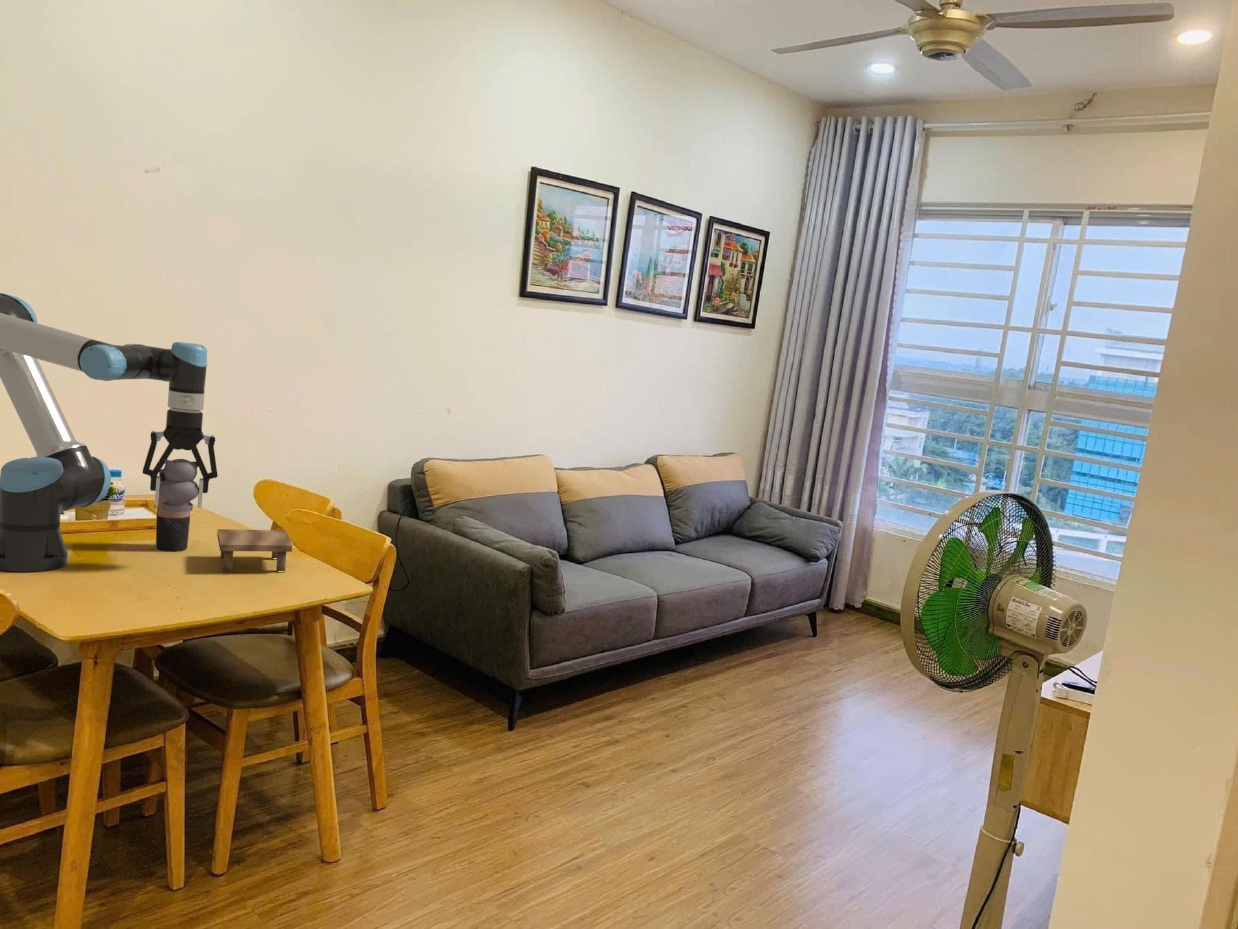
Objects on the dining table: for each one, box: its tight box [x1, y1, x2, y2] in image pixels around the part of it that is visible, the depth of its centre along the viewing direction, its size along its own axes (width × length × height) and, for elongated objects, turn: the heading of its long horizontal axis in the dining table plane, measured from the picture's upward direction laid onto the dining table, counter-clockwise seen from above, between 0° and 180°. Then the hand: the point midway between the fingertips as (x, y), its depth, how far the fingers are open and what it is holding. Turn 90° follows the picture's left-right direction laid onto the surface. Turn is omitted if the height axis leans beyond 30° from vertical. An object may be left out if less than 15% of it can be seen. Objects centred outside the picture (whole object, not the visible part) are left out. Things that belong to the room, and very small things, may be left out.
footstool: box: [216, 528, 293, 574], centre depth 225 cm, size 16×16×7 cm
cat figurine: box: [159, 458, 199, 512], centre depth 213 cm, size 8×8×12 cm
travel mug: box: [155, 468, 192, 553], centre depth 230 cm, size 8×8×20 cm
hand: (178, 505), depth 214 cm, fingers closed on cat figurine, 8 cm apart
